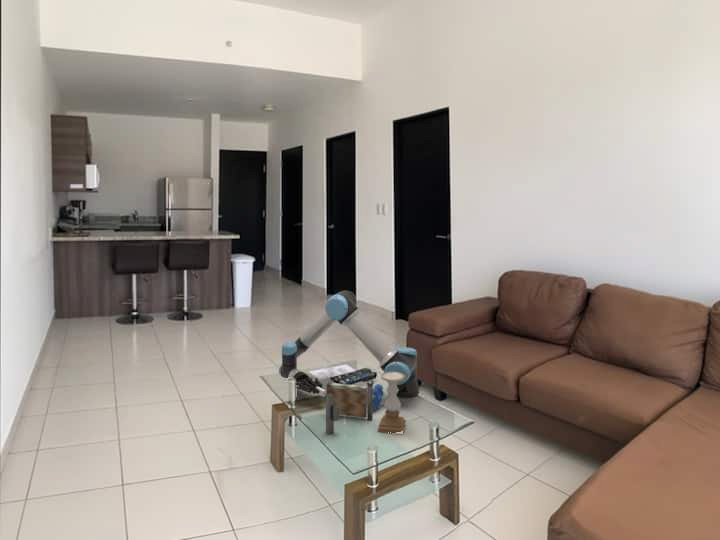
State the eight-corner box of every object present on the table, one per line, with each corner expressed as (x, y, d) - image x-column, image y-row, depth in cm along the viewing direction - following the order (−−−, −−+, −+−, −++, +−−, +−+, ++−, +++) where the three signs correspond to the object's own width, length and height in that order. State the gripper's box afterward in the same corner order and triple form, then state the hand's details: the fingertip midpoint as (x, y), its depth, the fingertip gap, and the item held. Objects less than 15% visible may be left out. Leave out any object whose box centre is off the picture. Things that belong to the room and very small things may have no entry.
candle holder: (403, 434, 223) (404, 381, 219) (377, 432, 225) (378, 379, 221) (406, 423, 234) (407, 372, 230) (381, 421, 236) (382, 370, 232)
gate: (366, 416, 239) (366, 386, 236) (365, 418, 236) (365, 388, 234) (328, 412, 243) (328, 382, 240) (326, 414, 241) (326, 384, 238)
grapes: (374, 402, 256) (374, 379, 254) (386, 405, 252) (386, 381, 250) (362, 411, 246) (362, 387, 244) (375, 414, 242) (375, 390, 240)
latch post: (334, 429, 227) (334, 392, 225) (339, 433, 224) (339, 395, 222) (326, 432, 225) (325, 394, 222) (330, 435, 222) (330, 397, 219)
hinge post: (370, 417, 239) (370, 379, 237) (374, 419, 237) (375, 381, 234) (364, 419, 238) (365, 381, 235) (369, 421, 235) (369, 383, 232)
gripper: (310, 382, 269) (335, 398, 250) (287, 388, 261) (312, 404, 242) (310, 368, 268) (335, 383, 249) (287, 374, 260) (312, 389, 241)
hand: (324, 393), depth 246 cm, fingers closed
